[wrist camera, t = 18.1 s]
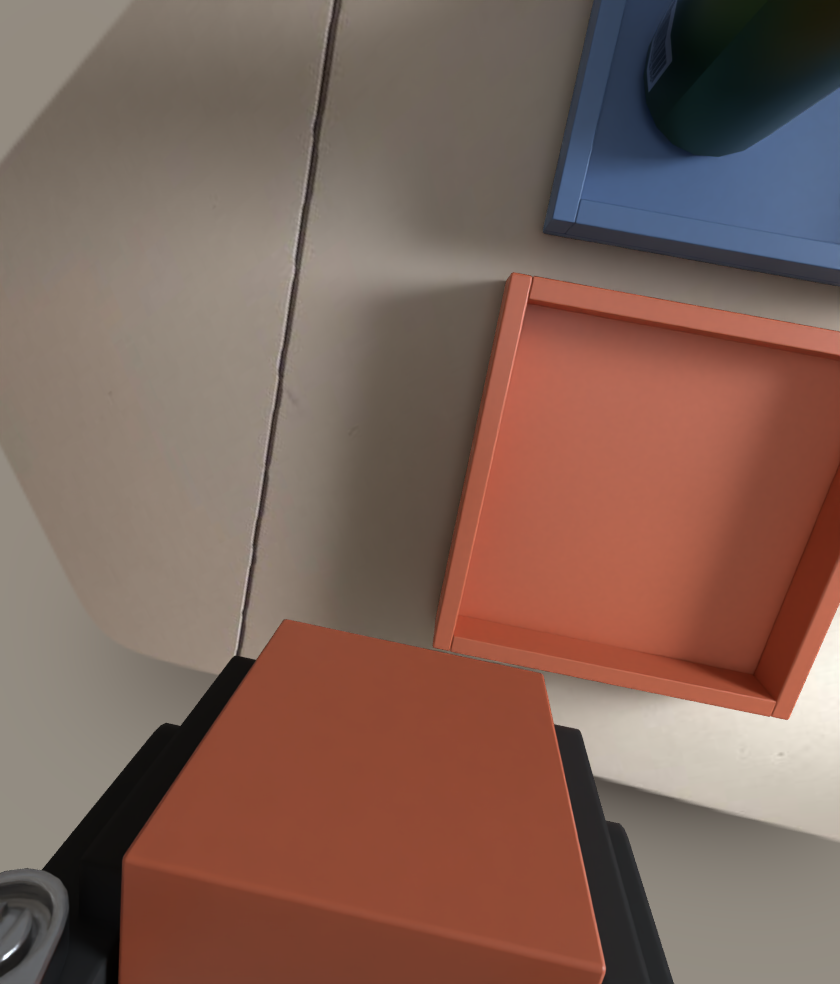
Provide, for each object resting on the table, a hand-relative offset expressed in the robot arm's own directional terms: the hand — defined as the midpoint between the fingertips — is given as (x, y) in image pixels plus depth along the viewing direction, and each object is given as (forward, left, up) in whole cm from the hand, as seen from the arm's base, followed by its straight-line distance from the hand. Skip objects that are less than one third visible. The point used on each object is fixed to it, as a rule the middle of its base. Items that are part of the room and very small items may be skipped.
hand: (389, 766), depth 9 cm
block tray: (+9, +2, -16) cm, 18 cm away
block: (0, 0, 0) cm, 0 cm away
